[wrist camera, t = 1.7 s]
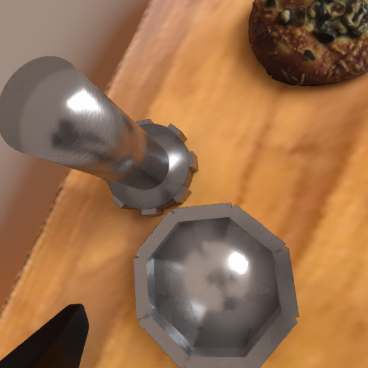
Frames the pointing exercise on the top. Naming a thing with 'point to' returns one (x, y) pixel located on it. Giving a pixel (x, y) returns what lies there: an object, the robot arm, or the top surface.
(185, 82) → the top surface
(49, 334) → the robot arm
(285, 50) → the bread roll
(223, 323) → the grey octagonal ring
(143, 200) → the grey cylinder with base
